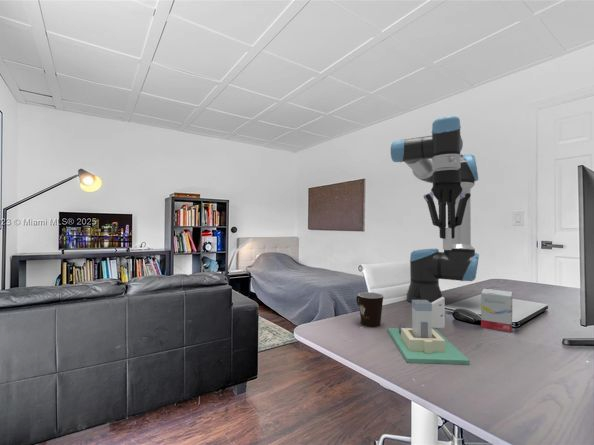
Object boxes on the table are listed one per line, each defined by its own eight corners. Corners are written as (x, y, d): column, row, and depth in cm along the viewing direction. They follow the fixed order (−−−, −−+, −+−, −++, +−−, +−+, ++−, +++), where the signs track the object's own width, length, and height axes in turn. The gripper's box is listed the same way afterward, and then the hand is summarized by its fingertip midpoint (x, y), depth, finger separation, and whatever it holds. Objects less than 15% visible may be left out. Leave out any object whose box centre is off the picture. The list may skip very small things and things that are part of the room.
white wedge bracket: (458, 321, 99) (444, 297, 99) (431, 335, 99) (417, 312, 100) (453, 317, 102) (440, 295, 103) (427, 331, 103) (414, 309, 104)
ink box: (512, 332, 94) (511, 295, 94) (480, 327, 100) (480, 291, 100) (512, 325, 101) (512, 290, 101) (483, 320, 106) (482, 287, 107)
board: (387, 331, 97) (387, 318, 97) (435, 332, 95) (435, 319, 95) (407, 362, 75) (406, 346, 75) (469, 364, 73) (469, 348, 73)
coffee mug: (386, 328, 99) (386, 298, 99) (360, 328, 99) (360, 298, 99) (377, 317, 111) (377, 290, 111) (354, 317, 111) (354, 290, 111)
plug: (412, 341, 85) (411, 299, 85) (426, 342, 85) (426, 299, 85) (417, 348, 81) (416, 304, 81) (432, 348, 80) (432, 304, 80)
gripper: (427, 169, 86) (428, 251, 86) (475, 167, 85) (476, 250, 85) (419, 173, 93) (420, 248, 94) (463, 171, 92) (464, 248, 92)
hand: (447, 249), depth 89 cm, fingers closed
